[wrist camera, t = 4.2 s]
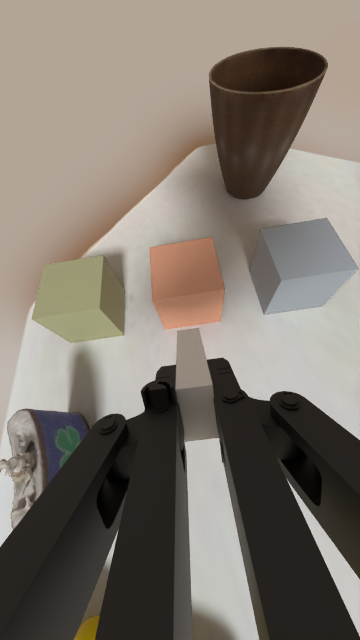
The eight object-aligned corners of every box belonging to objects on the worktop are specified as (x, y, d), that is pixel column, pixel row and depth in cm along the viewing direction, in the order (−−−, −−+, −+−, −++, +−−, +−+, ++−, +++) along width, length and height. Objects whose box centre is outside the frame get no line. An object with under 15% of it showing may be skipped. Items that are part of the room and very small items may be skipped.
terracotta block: (161, 284, 34) (149, 247, 27) (210, 276, 34) (212, 237, 27) (165, 329, 31) (152, 300, 23) (220, 321, 30) (224, 289, 23)
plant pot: (276, 161, 45) (307, 38, 31) (295, 207, 38) (347, 78, 24) (205, 171, 46) (204, 58, 32) (212, 217, 40) (215, 100, 25)
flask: (64, 418, 27) (-15, 415, 17) (86, 407, 27) (20, 397, 17) (80, 505, 23) (-12, 564, 13) (106, 491, 23) (34, 538, 13)
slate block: (249, 270, 33) (260, 228, 26) (300, 262, 33) (326, 217, 26) (263, 315, 30) (281, 280, 23) (322, 306, 29) (358, 268, 22)
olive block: (77, 297, 35) (44, 265, 28) (124, 290, 35) (103, 255, 27) (71, 343, 31) (31, 318, 24) (124, 335, 31) (99, 308, 24)
